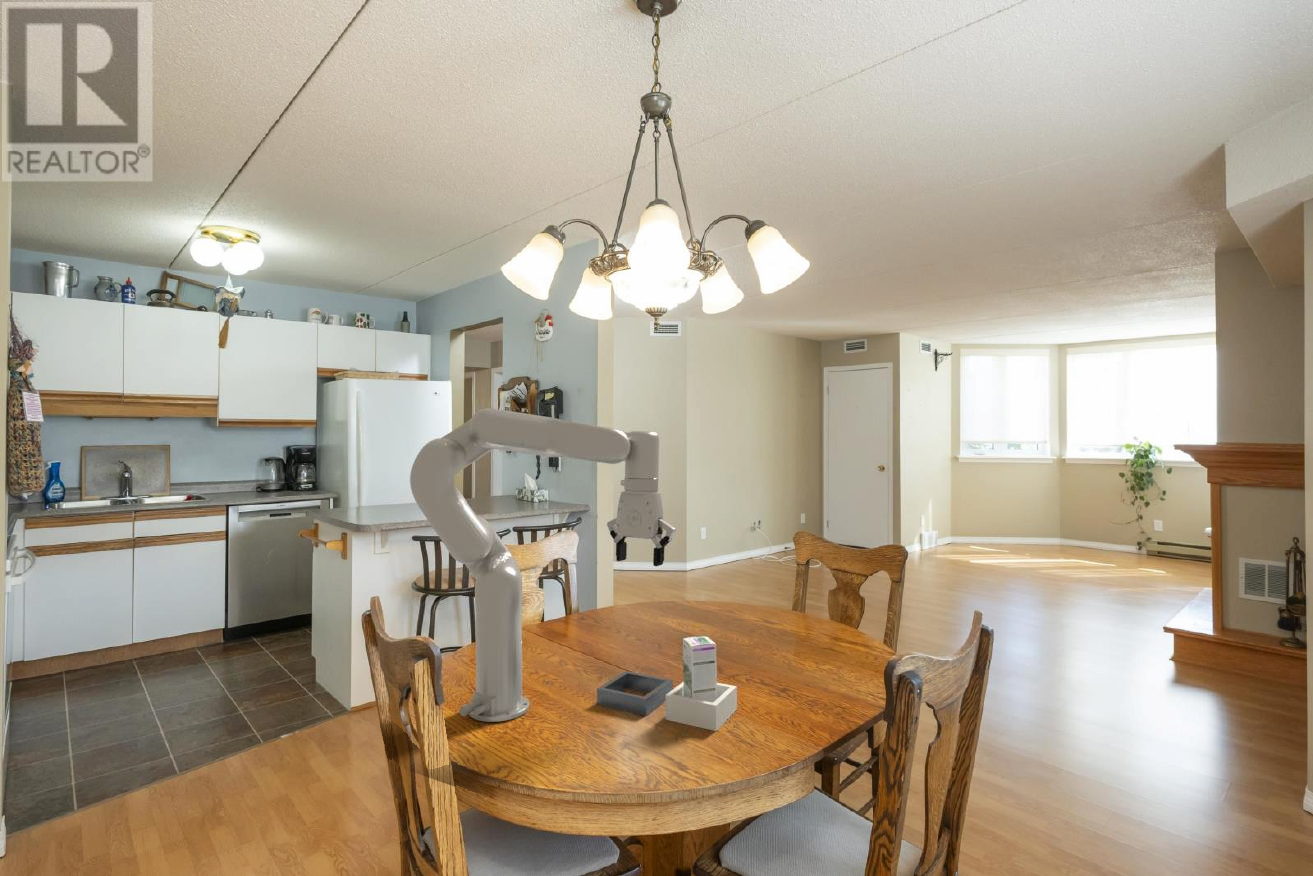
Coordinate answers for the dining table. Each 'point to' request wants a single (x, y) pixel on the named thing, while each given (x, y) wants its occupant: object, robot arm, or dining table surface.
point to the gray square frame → (627, 702)
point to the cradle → (701, 707)
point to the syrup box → (700, 668)
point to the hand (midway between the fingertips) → (639, 562)
